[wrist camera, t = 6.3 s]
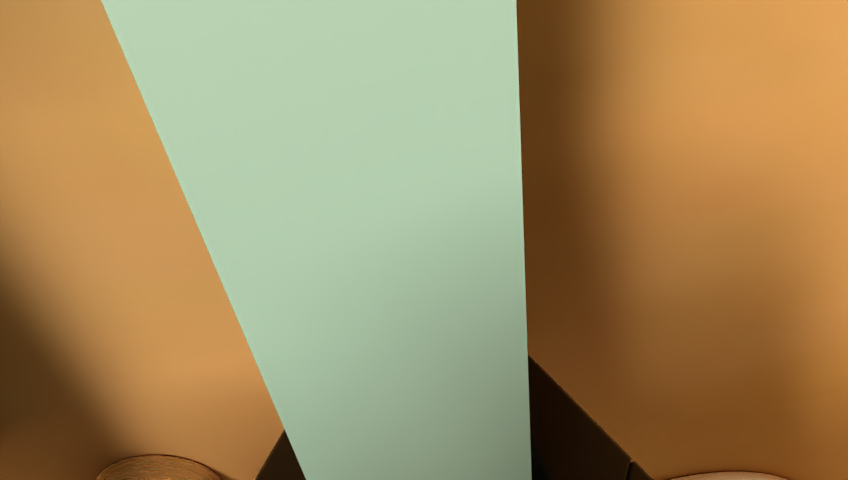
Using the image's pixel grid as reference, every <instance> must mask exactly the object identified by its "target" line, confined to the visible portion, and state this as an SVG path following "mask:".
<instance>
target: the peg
mask: <svg viewBox="0 0 848 480" xmlns="http://www.w3.org/2000/svg"><path fill="white" fill-rule="evenodd" d="M96 480H221V479H220V478H219V477H218V476H217V475H216V474H215V473H214V472H213V471H211V470H210V469H208V468H206V467H204V466H202V465H200V464H198V463H195V462H193V461H190V460H186V459H182V458H178V457H171V456H160V455H148V456H138V457H132V458H128V459H124V460H121V461H119V462H116V463H114V464H112V465H110V466H108V467H107V468H105V469H104V470H103V471H102V472H101V473H100V474H99V475H98V477H97V478H96Z"/></svg>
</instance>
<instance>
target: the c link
mask: <svg viewBox="0 0 848 480" xmlns="http://www.w3.org/2000/svg"><path fill="white" fill-rule="evenodd" d="M101 2H102V4H103V6H104V9H105V11H106V13H107V16H108V18H109V20H110V23H111V25H112V27H113V30H114V32H115V34H116V37H117V39H118V41H119V44H120V46H121V48H122V51H123V53H124V55H125V58H126V60H127V62H128V65H129V67H130V69H131V72H132V74H133V76H134V79H135V81H136V83H137V86H138V88H139V90H140V93H141V95H142V97H143V100H144V102H145V104H146V107H147V109H148V111H149V114H150V116H151V118H152V121H153V123H154V125H155V128H156V130H157V132H158V135H159V137H160V139H161V142H162V144H163V146H164V149H165V151H166V153H167V156H168V158H169V160H170V163H171V165H172V167H173V170H174V172H175V174H176V177H177V179H178V181H179V184H180V186H181V188H182V191H183V193H184V195H185V198H186V200H187V202H188V205H189V207H190V209H191V212H192V214H193V216H194V219H195V221H196V223H197V226H198V228H199V231H200V233H201V235H202V238H203V240H204V242H205V245H206V247H207V249H208V252H209V254H210V256H211V259H212V261H213V263H214V266H215V268H216V270H217V273H218V275H219V277H220V280H221V282H222V284H223V287H224V289H225V291H226V294H227V296H228V298H229V301H230V303H231V305H232V308H233V310H234V312H235V315H236V317H237V319H238V322H239V324H240V326H241V329H242V331H243V333H244V336H245V338H246V340H247V343H248V345H249V347H250V350H251V352H252V354H253V357H254V359H255V361H256V364H257V366H258V368H259V371H260V373H261V375H262V378H263V380H264V382H265V385H266V387H267V389H268V392H269V394H270V396H271V399H272V401H273V403H274V406H275V408H276V410H277V413H278V415H279V417H280V420H281V422H282V424H283V427H284V429H285V431H286V434H287V436H288V438H289V441H290V443H291V445H292V448H293V450H294V452H295V455H296V457H297V459H298V462H299V464H300V466H301V469H302V471H303V473H304V476H305V478H306V480H532V474H531V443H530V412H529V381H528V350H527V319H526V288H525V257H524V226H523V195H522V164H521V133H520V102H519V71H518V40H517V9H516V0H101Z"/></svg>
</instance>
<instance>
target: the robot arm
mask: <svg viewBox="0 0 848 480" xmlns="http://www.w3.org/2000/svg"><path fill="white" fill-rule="evenodd" d="M528 381H529V412H530V443H531V474H532V480H653V479H652V478H651V477H650V476H649V475H648V474H647V473H646V472H645V471H644V470H643V469H642V468H641V467H640V466H639V465H638V464H637V463H636V462H634V461H633V462H631V457H630V456H629V455H628V454H627V453H626V452H625V451H624V450H623V449H622V448H621V447H620V446H619V445H618V444H617V443H616V442H615V441H614V440H613V439H612V438H611V437H610V436H609V435H608V434H607V433H606V432H605V431H604V430H603V429H602V428H601V427H600V426H599V425H598V424H597V423H596V422H595V421H594V420H593V419H592V418H591V417H590V416H589V415H588V414H587V413H586V412H585V411H584V410H583V409H582V408H581V407H580V406H579V405H578V404H577V403H576V402H575V401H574V400H573V399H572V398H571V397H570V396H569V395H568V394H567V393H566V392H565V391H564V390H563V389H562V388H561V387H560V386H559V385H558V384H557V383H556V382H555V381H554V380H553V379H552V378H551V377H550V376H549V375H548V374H547V373H546V372H545V371H544V370H543V369H542V368H541V367H540V366H539V365H538V364H537V363H536V362H535V361H534V360H533V359H532V358H531V357H530V356H529V355H528ZM255 480H306V478H305V476H304V473H303V471H302V469H301V466H300V464H299V462H298V459H297V457H296V455H295V452H294V450H293V448H292V445H291V443H290V441H289V438H288V436H287V434H286V431H285V429H284V431H283V433H282V434H281V436H280V438H279V439H278V441H277V443H276V445H275V446H274V448H273V450H272V451H271V453H270V455H269V456H268V458H267V460H266V462H265V463H264V465H263V467H262V468H261V470H260V472H259V474H258V475H257V477H256V479H255Z"/></svg>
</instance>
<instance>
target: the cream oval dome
mask: <svg viewBox="0 0 848 480" xmlns="http://www.w3.org/2000/svg"><path fill="white" fill-rule="evenodd" d="M671 480H788V479H785V478H782V477H779V476H775V475H769V474H764V473H755V472H716V473H706V474H697V475H692V476H686V477H680V478H675V479H671Z"/></svg>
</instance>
